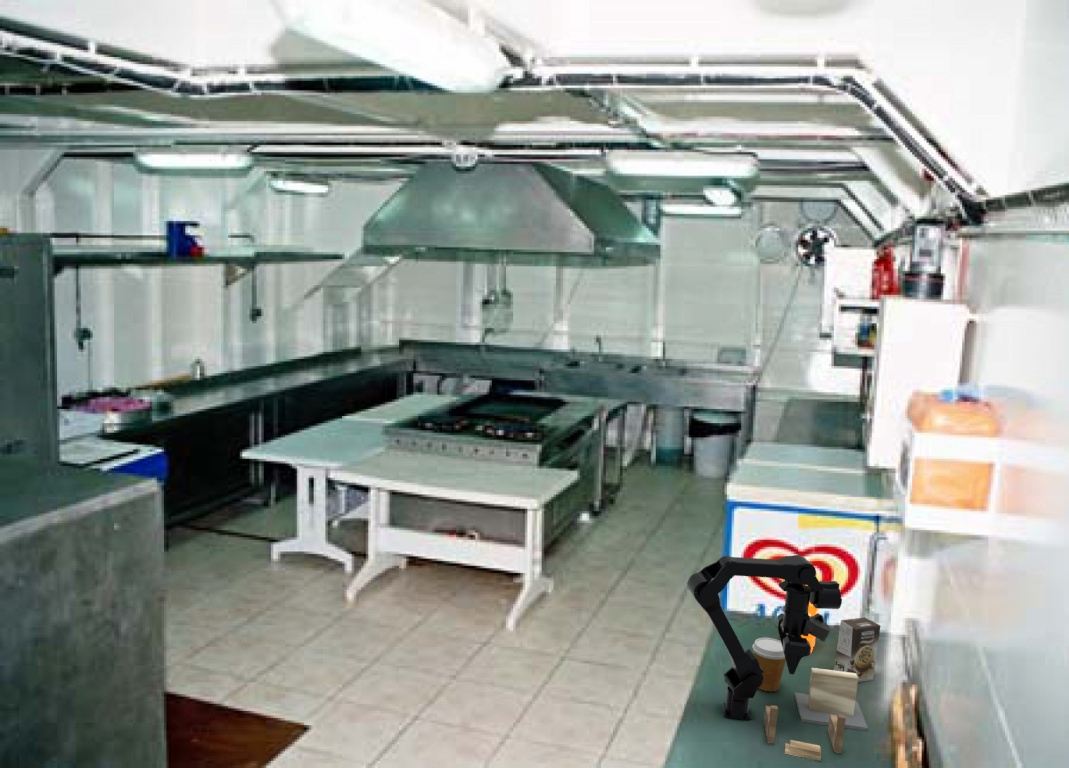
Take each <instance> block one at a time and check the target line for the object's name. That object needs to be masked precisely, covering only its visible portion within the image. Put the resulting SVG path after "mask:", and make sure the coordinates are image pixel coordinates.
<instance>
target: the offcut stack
mask: <svg viewBox="0 0 1069 768" xmlns="http://www.w3.org/2000/svg"><path fill="white" fill-rule="evenodd" d="M784 744H785V745H784V755H785V754H789V755H794V756H799V757H806V758H812V759H817V760H821V759H822V756H821V755H822V753H821V746H820V745H818V744H813V743H810V742H809V743H807V742H803V741H797V740H792V739H790V740H789V743H786V742H785V743H784ZM789 755H788V756H789ZM794 756H793V757H794ZM799 757H798V758H799ZM821 761H822V760H821Z"/></svg>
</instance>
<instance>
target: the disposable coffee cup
mask: <svg viewBox="0 0 1069 768" xmlns="http://www.w3.org/2000/svg"><path fill="white" fill-rule="evenodd" d="M752 650H753V654H754V655H755V657H756V658H757V660H758V663H759V665H760V667H761V668H762V669H763V671H764V673H762V674H763V677H764V680H763V682H762V684H761V686H760V687H759V689H758V690H760V689H761V690H760V691H762V690H765V691H764V692H766V691H775V692H777V691H778V690H779V688H780V684H781V679H782V677H783V671H784V669H785V668H784V667H785V665H786V659H785V655H784V651H783V647H782V643H781V640H779V639H777V638H771V637H760V638H756V639H755V641H754V643H753V644H752ZM776 690H777V691H776Z"/></svg>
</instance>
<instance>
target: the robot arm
mask: <svg viewBox="0 0 1069 768" xmlns="http://www.w3.org/2000/svg"><path fill="white" fill-rule="evenodd" d="M736 576H737V577H751V578H768V579H769V578H771V579H780V580H783V581H781V582H780V583H778V587H779V588H780V589H781V590H782V592H785V593H786V594H785V599H784V605H783V606H782V611H783V613H780V614H778V615H777V618H776V627H777V631H778V634H779V639H780V640H779V641H781V643H782V647H783V651H784V655H785V659H786V661H785V663H786V665H787V668H788V674H790V675H795V674H796V671H797V668H798V666H799V664H800V662H801V660H802V658H804V657H809V656H811V654H812V652H811V646H810V643H809V641H808V640H807V639H806V638H802V637H801V635H803V636H808V635H809V634H810V635H812V636H814V637H816V638H817V639H819V641H821V642H824V643H825V642H826V640H827V638H828V637H829V635H830V633H831V629H830V626H829V625H828V624H827V622H826V621H825V620H824V619H825V618H824V616H823V614H820V613H819V614H818V613H817V614H815V615H814V616H810V615H809V614H808V608H809V601H810V603H811V604H813V606H814V607H815V608H819V610H820V609H824V610H825V609H826V610H829V609H830V610H839V609H840V608H841V607H842V603H843V599H842V593H841V590H840V583H838V582H837V580H830V581H821V580H820V581H819V579H818V578H817V570H816V567H815V566H814V565H813V563H811V562H810V561H809V560H808V559H807V558H805V557H804V556H802V555H800V554H797V555H796V554H795V555H787V556H783V557H781V558H776V559H774V558H773V559H772V558H757V557H756V558H755V557H740V556H738V557H736V556H731V555H730V556H729V555H724V556H721V557H720V558H718V560H717V561H715V562H713V563H711V564H708V565H706V566H705V567H703V568H702V569H701V570H700V571H698V572H696V573H693V574H692V575H691V576H690V577H689V578H688V581H687V588H688V590H689V592H690V593H691V595H692V596H693V598H694V599H695V600H696V601H697V603H698V604H699V605H700V606H701V608H702V609H703V610H704V611H705V613H706V614H707V616H708V617H709V619H710V621H711V624H712V625H713V627H714V628H715V630H716V632H717V634H718V635H719V638H720V639H721V641H722V643H723V645H724V647H725V649H726V651H727V652H728V655H729V661H730V664H731V668H729V669H728V670H727V671H726V672H725V673H724V674H723V678H724V682H725V683H726V684H727V688H726V689H727V690H726V699H725V702H723V703H722V710H723V711H722V712H723V716H724V718H731V719H736V720H737V719H738V720H743V721H744V720H746V721H751V712H750V711H751V710H750V699H753V698H754V697H755V695H756V692H757V691H758V690H759V689H758V688H759V687H760V686H761V684H762V682H763V680H764V677H763V674H762V673H764V671H763V669H762V668H761V667H760V665H759V663H758V660H757V658H756V657H755V655H754V652H752V650H751V648H749V649H746V650H744V648H743V645H742V644H741V642H740V640H739V638H738V636H737V634H736V632H735V631H734V629H733V627H732V624H731V623H730V621H729V619H728V618H727V615H726V614H725V612H724V611H723V608H722V605H721V599H720V595H719V594H720V593H721V592H723V590H724V589H725V588H726V586H727V584H728V583H729V581H731V579H733V578H734V577H736ZM804 585H808V586H804ZM824 621H825V622H824ZM810 653H811V654H810Z"/></svg>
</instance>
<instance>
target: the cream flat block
mask: <svg viewBox="0 0 1069 768" xmlns="http://www.w3.org/2000/svg"><path fill="white" fill-rule="evenodd" d="M858 683H859V682H858V677H857V675H856V673H849V672H842V671H834V669H824V668H817V667H811V672H810V680H809V686H808V687H809V689H808V702H807V704H808V708H809V710H816V711H824V712H831V713H838V714H846V715H854V707H855V701H857V700H856V697H857V691H858Z"/></svg>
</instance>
